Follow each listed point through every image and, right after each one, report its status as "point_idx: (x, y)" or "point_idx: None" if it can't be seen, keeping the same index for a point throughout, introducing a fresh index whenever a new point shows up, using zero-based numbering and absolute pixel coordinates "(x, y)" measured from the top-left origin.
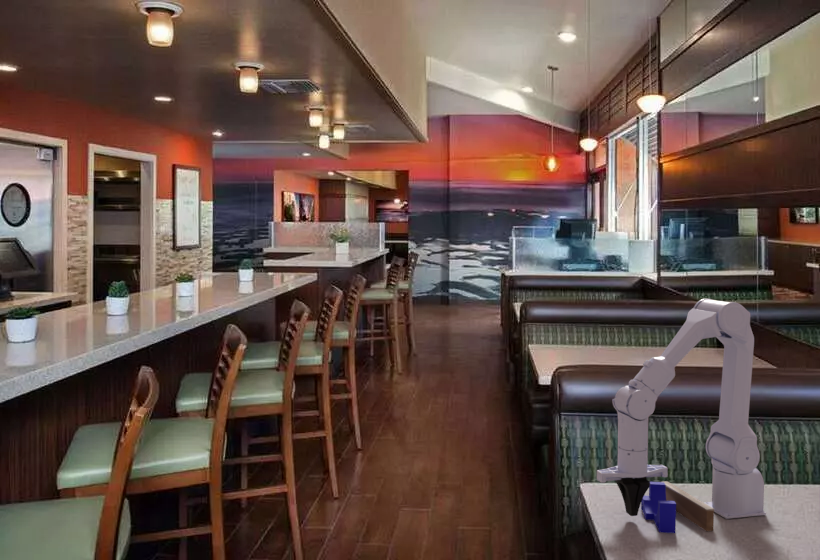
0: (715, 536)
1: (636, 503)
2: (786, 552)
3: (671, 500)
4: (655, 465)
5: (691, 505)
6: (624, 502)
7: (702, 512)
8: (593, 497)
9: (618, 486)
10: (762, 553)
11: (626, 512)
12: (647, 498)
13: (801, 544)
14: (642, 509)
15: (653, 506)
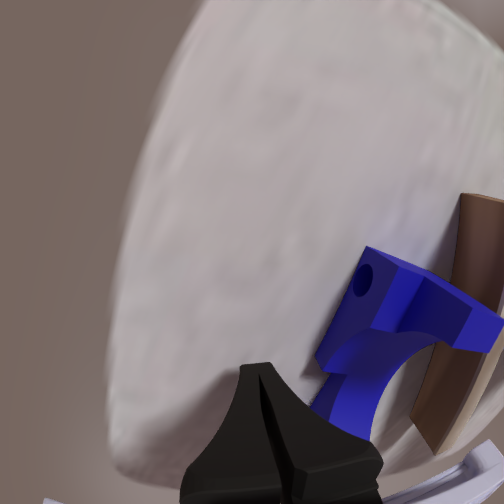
0: (403, 434)
1: (269, 442)
2: (439, 457)
3: (472, 279)
4: (486, 490)
5: (454, 396)
6: (236, 391)
7: (435, 433)
8: (203, 60)
9: (206, 449)
10: (408, 469)
11: (240, 367)
12: (397, 311)
13: (477, 429)
14: (360, 270)
15: (380, 345)
